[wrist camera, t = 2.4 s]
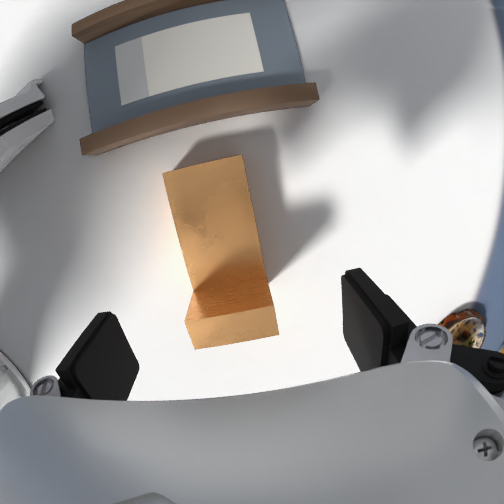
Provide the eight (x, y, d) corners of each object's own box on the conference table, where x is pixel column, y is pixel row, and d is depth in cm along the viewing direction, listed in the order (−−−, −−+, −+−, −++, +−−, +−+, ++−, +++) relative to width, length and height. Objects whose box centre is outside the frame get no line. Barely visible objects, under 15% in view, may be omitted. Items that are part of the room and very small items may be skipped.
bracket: (266, 284, 22) (279, 334, 16) (205, 296, 22) (194, 349, 16) (241, 155, 19) (243, 152, 13) (172, 171, 19) (142, 177, 13)
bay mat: (305, 89, 18) (307, 88, 17) (95, 139, 18) (92, 138, 17) (280, -4, 15) (281, -6, 14) (85, 45, 15) (83, 44, 15)
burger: (409, 399, 29) (433, 437, 22) (403, 342, 26) (437, 386, 19) (476, 354, 28) (504, 384, 21) (480, 290, 25) (520, 319, 18)
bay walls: (309, 106, 18) (319, 99, 16) (98, 154, 18) (82, 155, 16) (277, -15, 14) (281, -30, 12) (85, 34, 14) (71, 24, 12)
